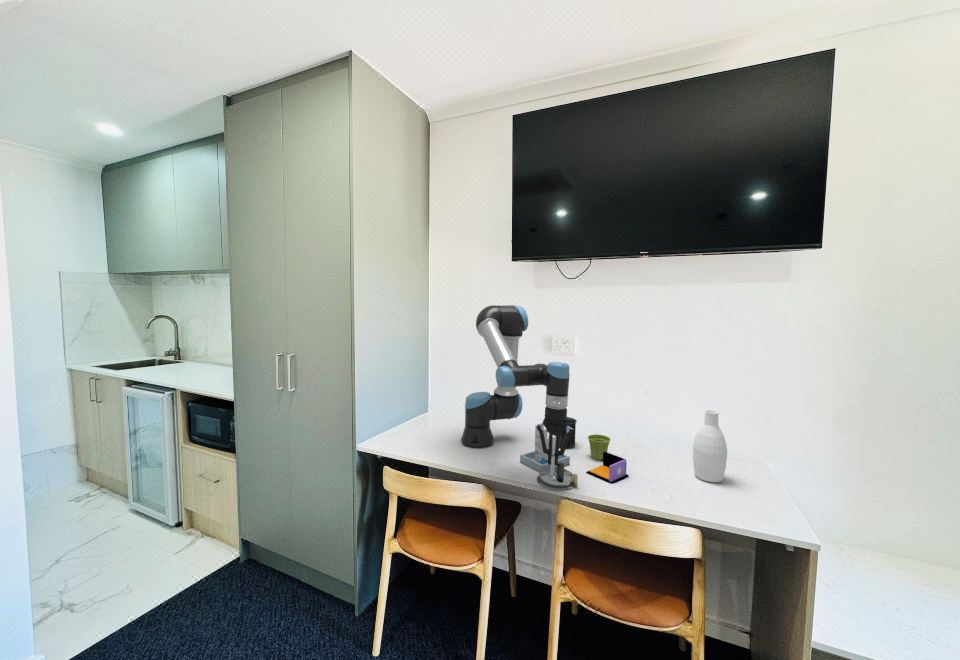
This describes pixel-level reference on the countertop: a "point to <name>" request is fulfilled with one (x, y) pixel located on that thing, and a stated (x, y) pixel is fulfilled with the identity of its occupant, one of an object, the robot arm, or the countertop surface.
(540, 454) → the ink box
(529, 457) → the tray
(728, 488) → the countertop surface
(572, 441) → the mug
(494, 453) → the countertop surface
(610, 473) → the miniature room corner
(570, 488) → the crank base
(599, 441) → the plant pot
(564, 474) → the crank
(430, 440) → the countertop surface
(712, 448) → the bottle
